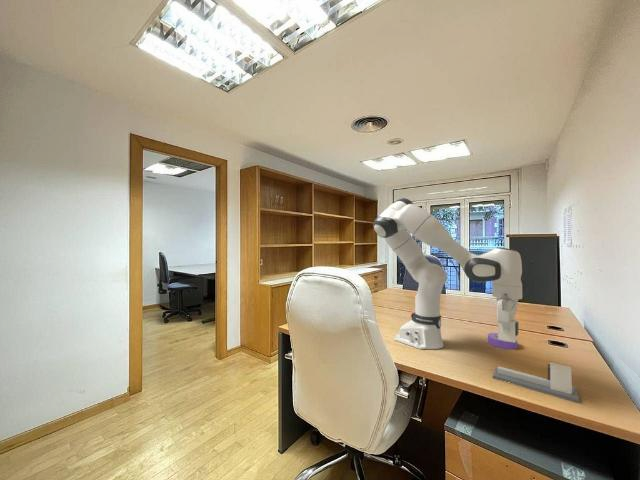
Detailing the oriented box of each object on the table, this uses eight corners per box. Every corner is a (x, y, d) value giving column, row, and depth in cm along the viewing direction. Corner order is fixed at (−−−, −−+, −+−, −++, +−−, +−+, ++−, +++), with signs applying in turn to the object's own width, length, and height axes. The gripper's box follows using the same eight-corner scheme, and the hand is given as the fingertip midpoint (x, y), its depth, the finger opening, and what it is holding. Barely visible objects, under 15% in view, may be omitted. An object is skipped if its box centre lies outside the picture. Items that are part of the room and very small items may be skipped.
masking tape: (522, 350, 118) (522, 342, 118) (494, 348, 120) (494, 340, 120) (509, 341, 130) (509, 333, 130) (483, 339, 132) (483, 332, 132)
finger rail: (492, 378, 93) (492, 355, 94) (496, 369, 100) (496, 348, 100) (579, 403, 79) (578, 376, 79) (577, 390, 86) (576, 366, 86)
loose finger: (498, 339, 94) (498, 319, 94) (500, 336, 98) (499, 317, 98) (517, 343, 91) (517, 323, 91) (518, 339, 94) (518, 320, 94)
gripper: (514, 298, 85) (515, 340, 85) (520, 289, 100) (521, 326, 100) (491, 295, 89) (492, 336, 89) (500, 287, 104) (501, 322, 104)
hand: (507, 330), depth 94 cm, fingers closed on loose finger, 4 cm apart
